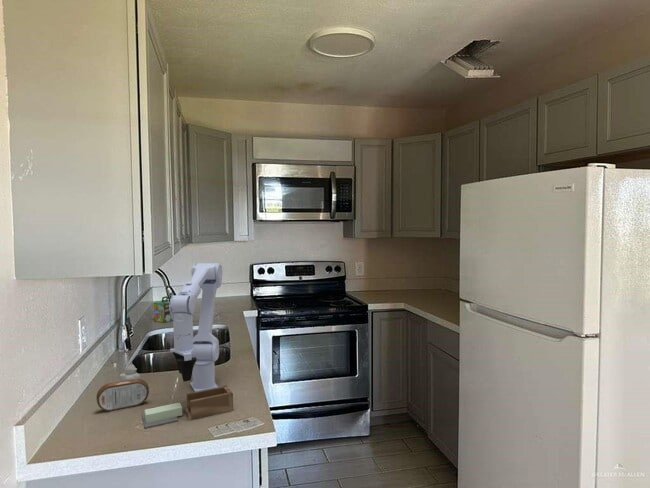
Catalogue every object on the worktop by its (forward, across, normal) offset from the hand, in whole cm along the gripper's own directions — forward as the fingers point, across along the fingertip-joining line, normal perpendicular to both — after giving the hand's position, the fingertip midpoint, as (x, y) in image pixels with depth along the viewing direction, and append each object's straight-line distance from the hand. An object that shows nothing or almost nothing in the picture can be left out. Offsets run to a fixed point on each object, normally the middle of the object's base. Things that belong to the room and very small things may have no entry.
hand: (184, 376), depth 131 cm
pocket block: (+10, +5, +6) cm, 13 cm away
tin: (+11, -11, -17) cm, 23 cm away
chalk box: (+12, -131, +9) cm, 132 cm away
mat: (+10, +3, -8) cm, 13 cm away
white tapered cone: (+11, -32, -14) cm, 37 cm away
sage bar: (+10, +3, -7) cm, 12 cm away
